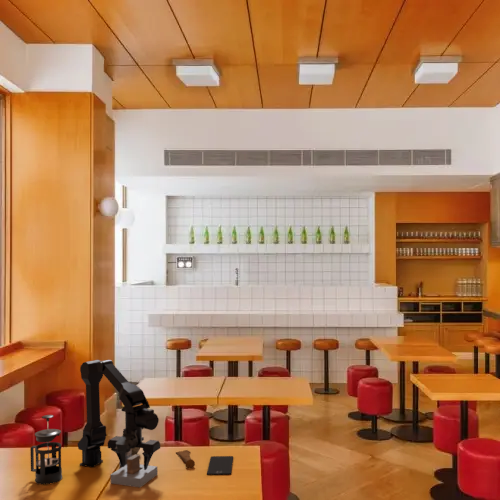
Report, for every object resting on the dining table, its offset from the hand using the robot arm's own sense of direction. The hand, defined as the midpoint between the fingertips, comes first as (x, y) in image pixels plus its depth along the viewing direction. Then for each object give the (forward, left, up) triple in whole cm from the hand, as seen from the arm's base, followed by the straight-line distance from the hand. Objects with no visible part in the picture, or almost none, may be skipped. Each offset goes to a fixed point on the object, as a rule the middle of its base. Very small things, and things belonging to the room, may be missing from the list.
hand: (134, 468), depth 208 cm
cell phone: (+25, +21, -4) cm, 33 cm away
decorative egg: (-14, +21, -4) cm, 25 cm away
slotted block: (0, 0, -4) cm, 4 cm away
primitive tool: (+9, +23, -4) cm, 25 cm away
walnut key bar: (0, -1, -4) cm, 4 cm away
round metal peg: (-10, +10, -4) cm, 15 cm away
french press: (-30, -10, -4) cm, 32 cm away
